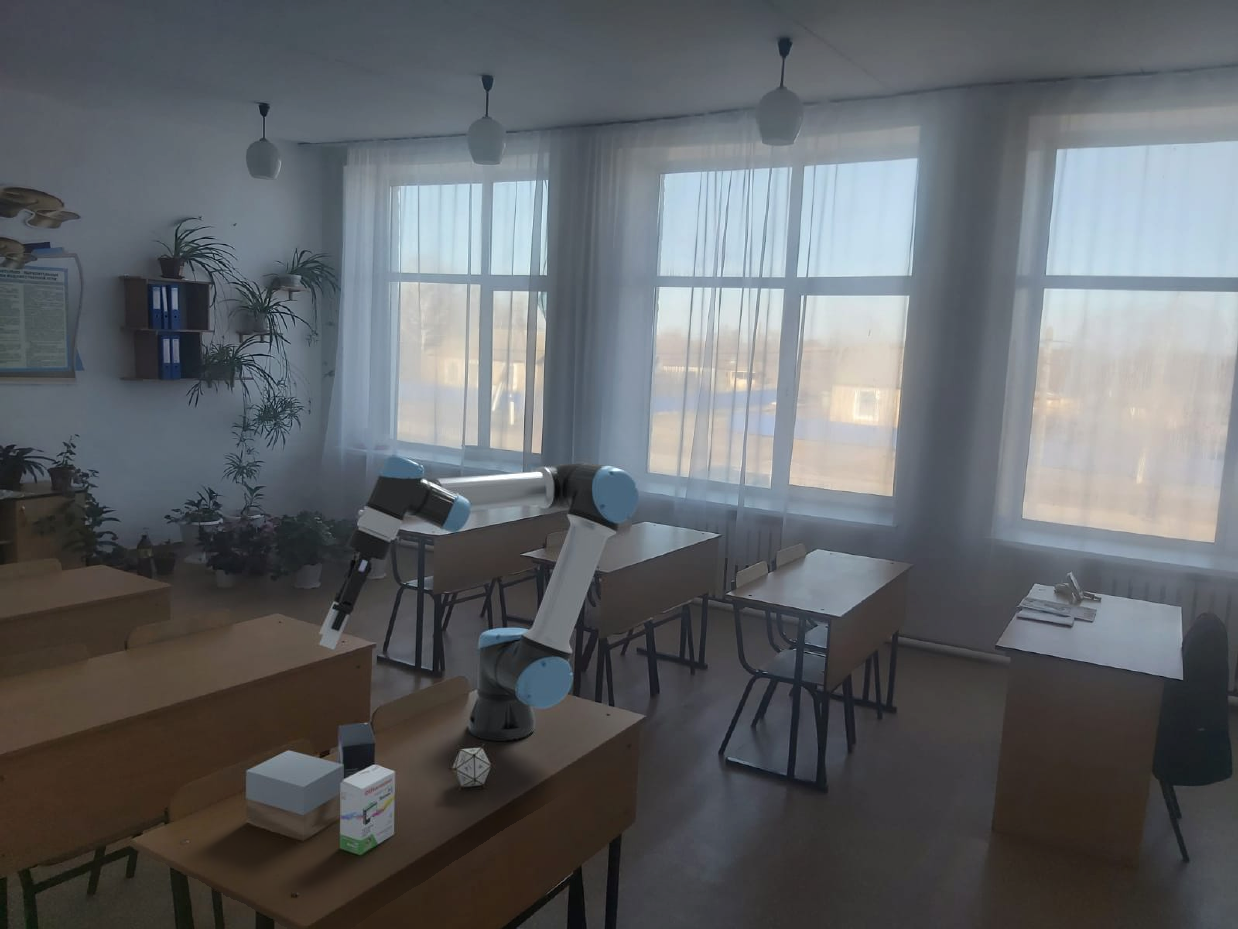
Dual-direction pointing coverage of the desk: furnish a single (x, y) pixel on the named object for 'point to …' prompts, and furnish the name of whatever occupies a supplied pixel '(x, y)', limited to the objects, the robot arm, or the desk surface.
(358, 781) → the ink box
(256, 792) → the grey slab
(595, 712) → the desk surface
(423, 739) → the desk surface
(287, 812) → the walnut slab
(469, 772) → the game die
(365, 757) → the small box
